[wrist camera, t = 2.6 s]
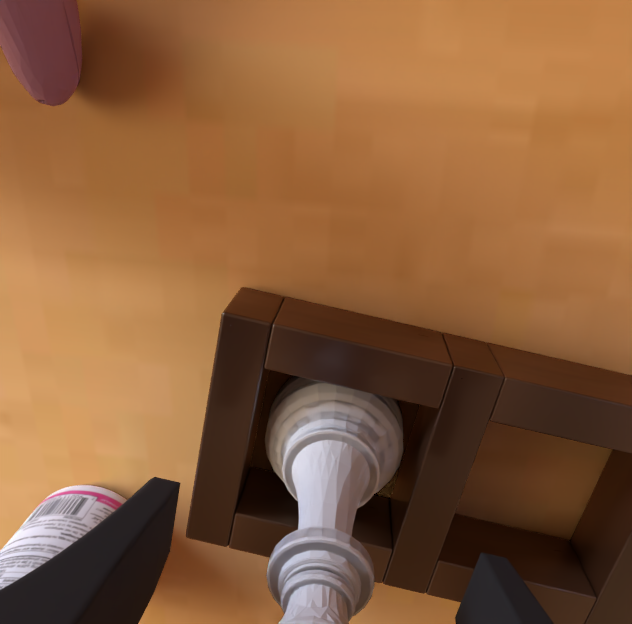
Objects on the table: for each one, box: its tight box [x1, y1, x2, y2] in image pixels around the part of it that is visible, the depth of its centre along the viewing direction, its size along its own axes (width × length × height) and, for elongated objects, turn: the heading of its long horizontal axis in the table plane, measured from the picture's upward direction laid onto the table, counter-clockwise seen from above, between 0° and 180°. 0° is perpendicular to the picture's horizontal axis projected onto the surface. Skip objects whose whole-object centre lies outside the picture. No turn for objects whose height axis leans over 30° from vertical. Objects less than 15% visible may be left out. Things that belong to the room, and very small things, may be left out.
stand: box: [186, 287, 632, 624], centre depth 17 cm, size 14×8×2 cm, turn 78°
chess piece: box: [265, 376, 403, 624], centre depth 14 cm, size 4×4×10 cm
